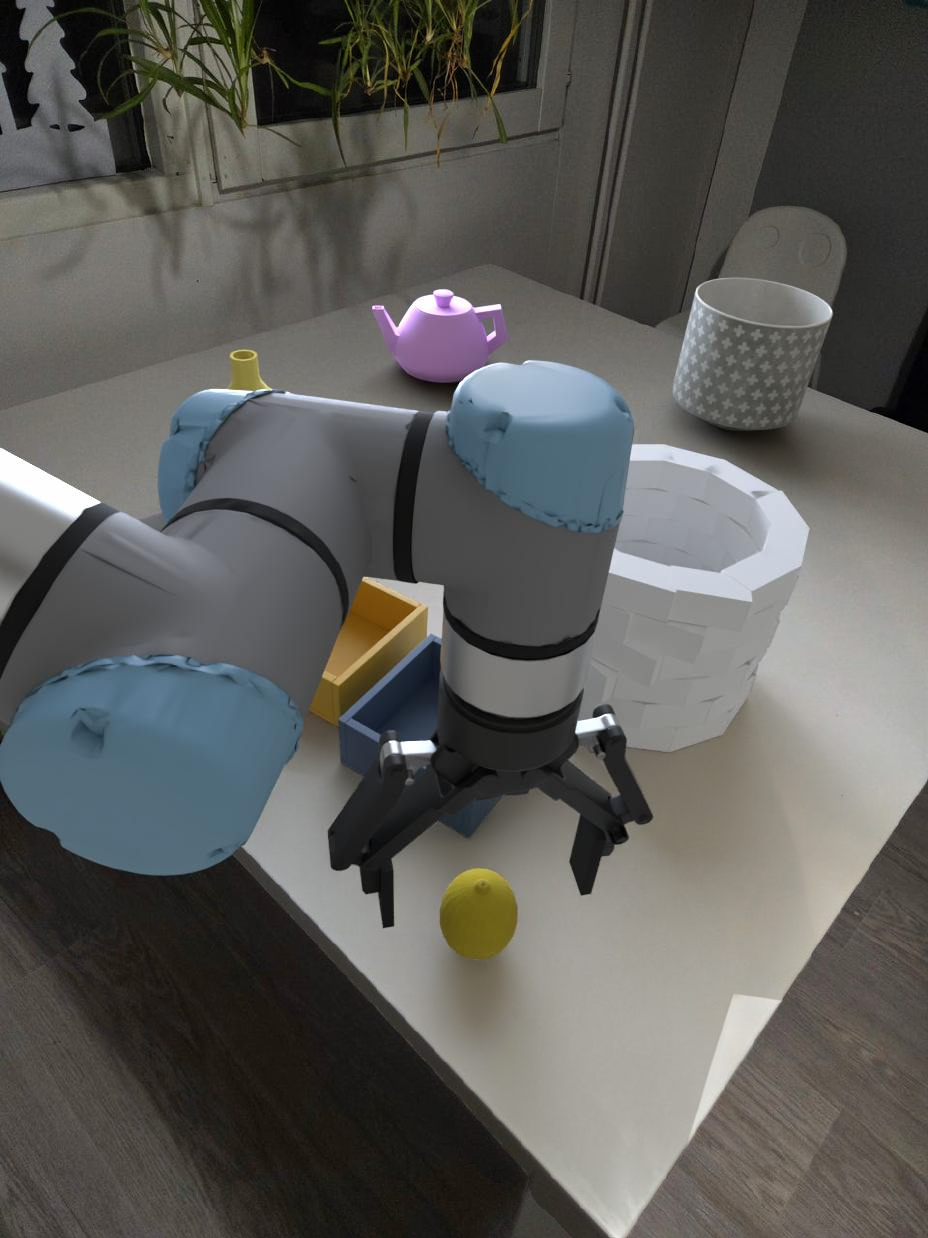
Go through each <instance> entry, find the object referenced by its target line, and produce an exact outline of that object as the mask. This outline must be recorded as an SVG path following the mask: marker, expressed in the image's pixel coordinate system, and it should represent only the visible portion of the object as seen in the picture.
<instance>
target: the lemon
mask: <svg viewBox="0 0 928 1238" xmlns="http://www.w3.org/2000/svg"><path fill="white" fill-rule="evenodd" d="M518 907H519V906H518V903H517V899H516V895H515V892H514V890H513V888H512V886H511V885H510V884H509V882H508V881H507V880H506V879H505V878H504V876H501V875H500V874H499V873H497V872H496V871H493V870H491V869H487V868H481V867H479V868H471V869H468V870H466V871H463V872H461V873H459V874H458V875H457V876H455V878H454V879H452V881H451V882H450V883H449V884H448V886H447V888H446V889H445V892H444V893H443V895H442V897H441V902H440V906H439V912H438V913H439V914H438V915H439V927H440V930H441V933H442V934H441V935H442V937H443V938H444V941H445V942H446V944H447V945H448V946H449V948H450V949H451V950H452V951H454V952H455V953H456V954H457V955H459V956H461V957H462V958H465V959H468V960H472V961H485V960H489V959H491V958H493V957H495V956H497V955H499V954H501V952H502V951H504V950H505V949H506V948H507V947H508V945H509V943H510V942H511V941H512V939H513V937H514V936H515V932H516V929H517V925H518V919H519V915H518V914H519V908H518Z"/></svg>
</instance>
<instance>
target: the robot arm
mask: <svg viewBox="0 0 928 1238" xmlns="http://www.w3.org/2000/svg"><path fill="white" fill-rule="evenodd" d="M271 389H272V390H271V391H270V390H266V389H261V390H257V391H241V390H226V389H223V388H222V389H221V388H209V389H204V390H200V391H198V392H196V393H194V394H192V395H190V396H189V397H187V398H186V399H184V401H183V402H182V403H181V404H180V405H179V406H178V408H177V410H176V411H175V412H174V413H173V415H172V417H171V420H170V427H169V428H170V429H169V435H168V438H165V439H164V440H163V441H162V443H161V447H160V452H159V459H158V466H157V492H158V501H159V507H160V511H161V512H162V515H163V518H164V521H165V523H166V526H165V527H164V528H163V529H162V530H161V532H159V531H157V530H155V529H153V528H151V527H150V526H148V525H146V524H144V523H142V522H140V521H138V520H137V519H138V518H135V517H133V516H131V515H130V514H127V513H125V512H123V511H120V510H118V509H116V508H115V507H113V506H111V505H109V504H107V503H105V502H101V501H99V500H98V499H95V498H93V497H92V496H90V495H88V494H86V493H84V492H82V491H81V490H78V489H77V488H75V487H73V486H71V485H69V484H68V483H66V482H64V481H62V480H60V479H59V478H57V477H54V476H53V475H51V474H49V473H47V472H45V471H44V470H42V469H40V468H39V467H36V466H34V465H32V464H30V463H29V462H27V461H25V460H24V459H22V458H19V457H18V456H16V455H14V454H12V453H11V452H8V451H6V450H5V449H4V448H2V447H0V722H2V723H3V724H6V725H7V726H9V728H8V730H7V731H6V733H5V734H4V736H3V739H2V741H1V744H0V784H1V786H2V788H3V790H4V793H5V794H6V796H7V797H8V799H9V800H10V802H11V803H12V805H13V806H14V808H15V809H16V811H17V812H18V813H19V814H20V815H21V816H22V817H23V818H24V819H25V820H26V821H28V822H29V823H30V824H32V825H33V826H35V827H37V828H41V829H44V830H46V831H48V832H51V833H53V834H54V835H55V836H56V837H57V839H58V842H59V844H60V846H61V848H63V849H65V850H67V851H69V852H70V853H73V854H74V855H77V856H79V857H81V858H83V859H86V860H88V861H90V862H93V863H96V864H99V865H100V866H101V865H102V866H105V867H108V868H110V869H115V870H120V871H124V872H130V873H134V874H138V875H147V876H179V875H186V874H192V873H197V872H199V871H202V870H207V869H208V868H211V867H214V866H216V865H217V864H219V863H221V862H224V861H225V860H226V859H227V858H229V857H230V856H232V855H233V854H234V852H235V851H236V850H238V849H240V848H241V847H243V846H245V845H246V844H247V843H248V841H249V839H250V838H251V836H252V834H253V833H254V831H255V829H256V827H257V824H258V822H259V820H260V818H261V816H262V814H263V812H264V810H265V807H266V805H267V803H268V801H269V799H270V797H271V795H272V793H273V791H274V789H275V786H276V785H277V782H278V780H279V778H280V776H281V774H282V773H283V770H284V768H285V766H287V765H288V764H289V763H290V761H292V759H293V758H294V756H295V755H296V754H297V752H298V750H299V749H300V745H301V737H302V733H303V729H304V725H305V722H306V719H307V716H308V713H309V712H310V711H309V709H310V706H311V704H312V701H313V699H314V696H315V694H316V691H317V688H318V686H319V683H320V681H321V678H322V676H323V673H324V670H325V668H326V665H327V663H328V660H329V658H330V655H331V652H332V650H333V647H334V645H335V642H336V640H337V637H338V635H339V632H340V630H341V628H342V626H343V624H344V623H345V621H346V618H347V616H348V613H349V611H350V609H351V606H352V604H353V601H354V599H355V596H356V594H357V591H358V589H359V587H360V584H361V582H362V579H363V577H367V578H370V579H371V578H373V579H379V580H380V579H381V580H386V581H387V580H388V581H396V582H400V583H401V582H402V583H408V584H414V585H416V584H419V583H423V584H424V583H425V584H430V585H439V586H443V595H442V608H443V611H442V627H441V639H442V641H441V657H440V661H441V669H440V677H439V699H438V722H437V728H436V730H435V731H434V733H433V734H432V735H431V737H430V738H429V740H428V741H415V742H402V739H401V734H400V733H399V732H397V731H393V730H391V731H386V732H384V733H383V734H382V735H381V736H380V738H379V745H378V752H377V758H376V760H375V761H374V763H373V764H372V766H371V767H370V769H369V770H368V772H367V773H366V774H365V776H363V777H362V779H361V780H360V781H359V783H358V785H357V786H356V788H355V789H354V790H353V792H352V794H351V795H350V796H349V797H348V799H347V801H346V802H345V804H344V805H343V807H342V808H341V810H340V811H339V813H338V815H337V816H336V817H335V818H334V820H333V822H332V823H331V824H330V826H329V828H328V829H327V843H328V853H329V864H330V868H331V870H332V871H335V872H342V871H343V872H344V871H346V870H348V869H349V868H350V867H351V866H357V867H358V868H359V877H360V883H361V891H362V892H363V893H364V894H365V895H372V894H377V897H378V903H379V910H380V912H379V913H380V919H381V927H382V929H388V928H394V927H395V871H394V865H393V859H394V858H395V857H396V856H397V855H399V853H400V852H402V851H403V850H404V849H406V848H407V847H408V846H409V845H410V844H411V843H413V842H414V841H415V840H416V839H418V838H419V837H420V836H421V835H422V834H423V833H425V832H426V831H428V829H430V828H431V827H432V826H433V825H435V824H436V823H437V822H439V821H438V820H439V819H440V818H442V817H443V816H444V815H445V814H448V815H450V816H454V815H456V814H457V813H458V812H459V811H460V810H462V809H463V808H464V807H465V806H467V805H468V804H469V803H470V802H471V801H473V800H474V799H475V798H476V800H477V801H479V800H487V799H491V798H495V797H498V796H501V795H503V796H522V795H529V792H530V790H531V791H532V790H533V789H535V788H537V789H538V790H539V791H541V792H542V793H543V794H545V795H547V796H548V798H550V799H552V800H553V801H555V802H557V801H559V800H560V801H562V802H563V803H564V804H566V805H567V806H568V807H570V808H571V809H573V810H574V811H575V812H577V813H578V814H579V818H578V822H577V826H576V831H575V835H574V839H573V843H572V848H571V851H570V856H569V860H568V863H569V866H570V869H571V872H572V874H573V878H574V880H575V883H576V886H577V889H578V892H579V895H580V897H581V896H588V895H592V892H593V889H594V885H595V882H596V879H597V874H598V871H599V868H600V864H601V860H602V858H604V857H609V856H610V855H612V853H613V852H614V850H615V846H621V845H623V844H625V843H626V842H628V840H629V839H630V835H629V833H628V831H627V828H626V826H625V825H626V824H629V823H632V822H634V823H635V824H636V825H638V826H644V825H647V824H650V823H651V822H652V821H653V819H654V815H653V812H652V810H651V808H650V805H649V804H648V801H647V799H646V797H645V794H644V792H643V790H642V788H641V786H640V783H639V782H638V779H637V777H636V775H635V773H634V771H633V769H632V767H631V765H630V763H629V761H628V759H627V757H626V750H627V747H626V743H627V739H626V736H625V734H624V732H623V730H622V727H621V725H620V723H619V721H618V719H617V717H616V714H615V712H614V710H613V708H612V706H611V705H609V704H602V705H600V706H598V707H596V708H595V709H594V711H593V716H592V719H588V720H583V721H578V717H579V713H580V708H581V703H582V698H583V693H584V687H585V684H586V679H587V674H588V669H589V664H590V659H591V654H592V649H593V644H594V639H595V635H596V630H597V625H598V618H599V613H600V609H601V604H602V600H603V595H604V591H605V586H606V582H607V578H608V573H609V569H610V564H611V560H612V555H613V551H614V547H615V542H616V538H617V533H618V529H619V525H620V522H621V519H622V516H623V513H624V511H623V505H624V496H625V489H626V482H627V476H628V469H629V462H630V455H631V449H632V444H633V442H634V435H635V424H634V419H633V417H632V411H631V409H630V407H629V405H628V403H627V402H626V400H625V399H624V398H623V396H622V395H621V393H620V392H619V390H617V389H616V388H615V387H614V386H613V385H611V384H610V383H609V382H607V381H606V380H604V379H603V378H601V377H599V376H597V375H595V374H594V373H591V372H589V371H587V370H585V369H582V368H579V367H575V366H573V365H572V366H571V365H568V364H565V363H564V364H563V363H560V362H555V361H548V360H547V361H546V360H535V359H528V360H526V361H524V362H523V363H517V364H514V363H508V362H497V363H492V364H488V365H484V367H482V368H480V369H478V370H476V371H474V372H473V373H471V374H470V375H468V376H467V377H466V378H465V379H464V380H463V381H459V384H458V385H457V387H456V389H455V391H454V392H453V396H452V401H451V406H450V408H449V409H448V411H443V410H436V411H435V412H429V411H421V410H417V409H416V410H415V409H407V408H399V407H395V406H394V407H392V406H385V405H378V404H370V403H363V402H355V401H348V400H341V399H333V398H325V397H319V396H310V395H303V394H297V393H291V392H289V391H284V390H282V389H277V388H271ZM580 746H584V747H586V749H587V752H589V753H591V754H594V755H595V757H596V759H597V760H602V762H603V764H604V766H605V768H606V770H607V771H606V772H607V773H608V775H609V777H610V779H611V780H612V783H613V784H614V786H615V788H616V790H617V792H618V794H617V795H615V796H613V795H612V793H610V792H609V791H608V790H607V789H605V788H604V787H602V786H601V785H600V784H599V783H597V781H595V780H594V779H593V778H591V777H590V776H589V775H587V773H585V772H584V771H583V770H581V769H580V768H579V767H578V766H576V765H575V764H573V762H572V761H570V759H571V758H572V757H573V756H574V755H575V754H576V752H577V751H578V748H579V747H580ZM424 766H426V769H425V773H424V774H423V775H422V776H421V777H420V778H419V779H418V780H417V781H415V782H414V777H413V776H415V775H416V774H417V772H418V770H419V769H420V768H422V767H424ZM405 785H407V786H409V785H411V786H410V787H409V788H407V789H406V790H405V791H404V792H403V790H404V787H405ZM452 785H453V786H455V788H454V789H453V786H452Z"/></svg>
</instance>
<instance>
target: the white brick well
mask: <svg viewBox="0 0 928 1238" xmlns="http://www.w3.org/2000/svg"><path fill="white" fill-rule="evenodd" d="M623 511H624V513H623V516H622V519H621V522H620V525H619V529H618V533H617V538H616V542H615V547H614V551H613V555H612V560H611V564H610V569H609V573H608V578H607V582H606V586H605V591H604V595H603V600H602V604H601V609H600V613H599V618H598V625H597V630H596V635H595V639H594V644H593V649H592V654H591V659H590V664H589V669H588V674H587V679H586V684H585V687H584V693H583V698H582V703H581V708H580V713H579V717H578V721H583V720H588V719H592V716H593V711H594V709H595V708H596V707H598V706H600V705H602V704H609V705H611V706H612V708H613V710H614V712H615V714H616V717H617V719H618V721H619V723H620V725H621V727H622V730H623V732H624V734H625V736H626V739H627V743H626V748H632V749H640V750H647V751H654V752H655V751H657V752H664V753H673V752H675V751H678V750H681V749H684V748H687V747H690V746H694V745H696V744H700V743H703V742H705V741H708V740H711V739H715V738H717V737H718V738H719V737H720V736H723V735H724V733H725V732H726V730H727V728H728V727H729V726H730V724H731V723H732V721H733V720H734V718H735V717H736V715H738V712H739V711H740V709H741V708H742V707H743V705H744V703H745V702H746V700H747V699H748V697H749V695H750V693H751V690H752V687H753V685H754V683H755V680H756V679H757V676H758V674H757V673H758V668H759V664H760V663H761V661H762V660H763V659H764V657H765V655H766V654H767V652H768V649H769V648H770V647H771V646H772V645H771V644H772V642H773V640H774V637H775V635H776V633H777V630H778V628H779V625H780V622H781V620H780V618H781V613H782V612H783V610H784V609H785V608H786V606H788V605H789V602H790V599H791V597H792V594H793V592H794V590H795V588H796V584H797V583H798V579H799V573H800V570H801V568H802V564H803V559H804V555H805V550H806V546H807V542H808V538H809V537H808V536H809V534H810V531H811V528H810V527H809V525H807V523H806V521H805V520H804V519H803V517H802V516H801V515H800V513H799V512H798V510H797V509H796V507H794V505H793V503H792V502H791V501H790V500H789V498H788V497H787V495H786V494H785V493H784V491H783V490H778V489H777V488H775V487H773V486H772V485H770V484H769V483H766V482H765V481H764V480H763V481H762V480H761V479H759V478H757V477H756V476H754V475H752V474H750V473H749V472H747V471H745V470H743V469H741V468H740V467H738V466H736V465H735V464H732V462H729V461H728V460H727V459H723V458H719V457H715V456H710V455H707V454H703V453H699V452H695V451H691V450H687V449H683V448H680V447H675V446H672V445H668V444H667V443H665V444H663V443H660V444H659V443H656V444H654V443H653V444H651V443H650V444H649V443H648V444H643V443H642V444H641V443H639V444H637V443H636V444H634V443H632V449H631V455H630V462H629V469H628V476H627V482H626V489H625V496H624V505H623Z"/></svg>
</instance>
